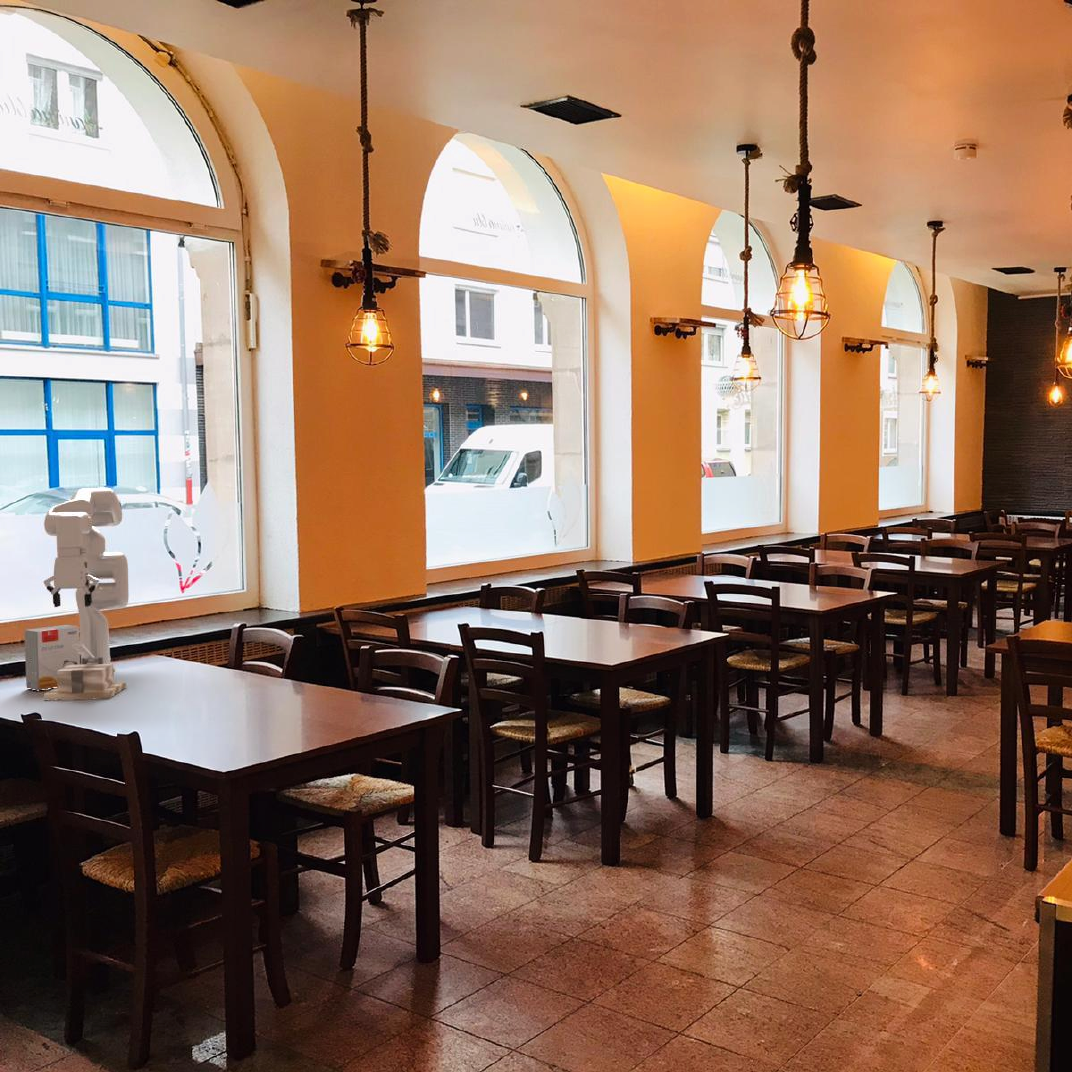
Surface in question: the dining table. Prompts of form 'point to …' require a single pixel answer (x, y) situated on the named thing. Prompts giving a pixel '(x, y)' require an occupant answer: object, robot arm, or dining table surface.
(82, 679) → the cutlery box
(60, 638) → the hard drive box
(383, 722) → the dining table surface
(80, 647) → the latch bar
